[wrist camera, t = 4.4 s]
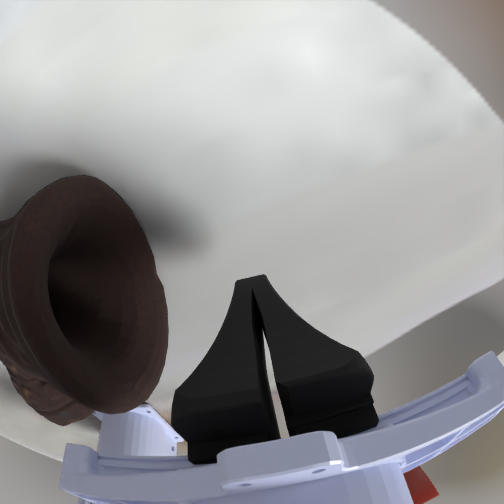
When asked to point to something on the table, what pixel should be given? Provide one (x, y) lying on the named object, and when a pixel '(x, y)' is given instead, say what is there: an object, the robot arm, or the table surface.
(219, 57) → the table surface
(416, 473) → the plant pot
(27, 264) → the dark brown rounded piece
